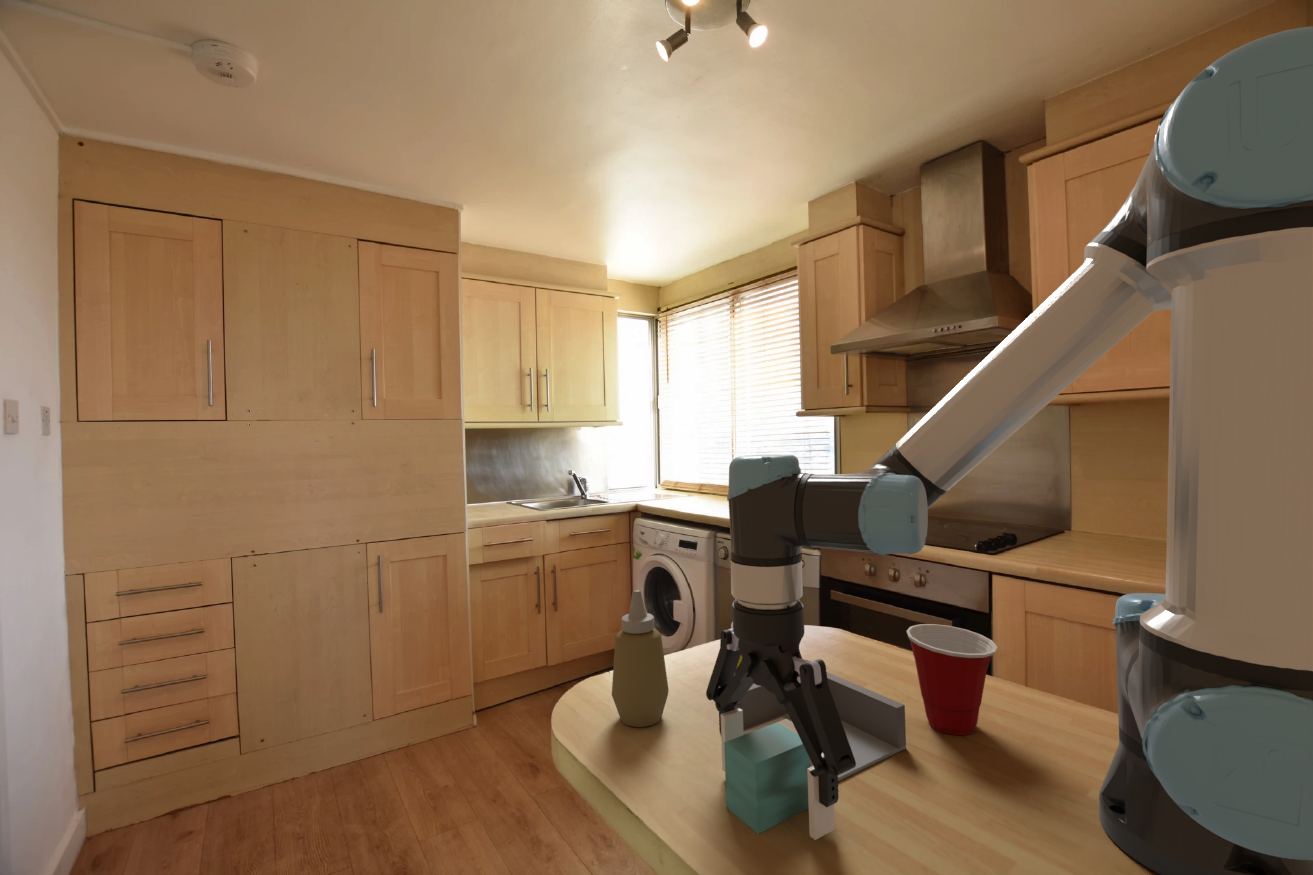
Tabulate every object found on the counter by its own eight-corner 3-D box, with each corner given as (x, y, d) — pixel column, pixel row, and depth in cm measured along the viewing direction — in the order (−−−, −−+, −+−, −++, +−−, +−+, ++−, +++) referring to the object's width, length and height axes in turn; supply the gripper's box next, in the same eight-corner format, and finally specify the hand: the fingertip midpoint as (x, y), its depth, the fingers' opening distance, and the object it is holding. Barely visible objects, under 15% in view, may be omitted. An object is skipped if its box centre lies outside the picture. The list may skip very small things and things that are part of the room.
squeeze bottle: (638, 700, 89) (634, 581, 89) (681, 714, 84) (676, 588, 84) (600, 721, 83) (596, 593, 83) (644, 738, 78) (639, 602, 78)
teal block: (788, 779, 68) (786, 718, 67) (821, 801, 63) (819, 736, 63) (726, 807, 63) (724, 742, 63) (757, 833, 59) (755, 763, 59)
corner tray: (906, 748, 73) (904, 704, 73) (820, 789, 65) (819, 741, 65) (810, 700, 87) (808, 664, 87) (730, 730, 79) (728, 690, 79)
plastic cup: (1004, 753, 71) (1001, 654, 71) (907, 736, 76) (904, 643, 76) (996, 713, 81) (993, 626, 81) (910, 701, 86) (908, 618, 86)
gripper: (890, 621, 54) (897, 851, 54) (722, 572, 76) (728, 737, 76) (833, 638, 50) (842, 886, 50) (674, 581, 72) (679, 755, 72)
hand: (773, 797), depth 63 cm, fingers open, 13 cm apart
